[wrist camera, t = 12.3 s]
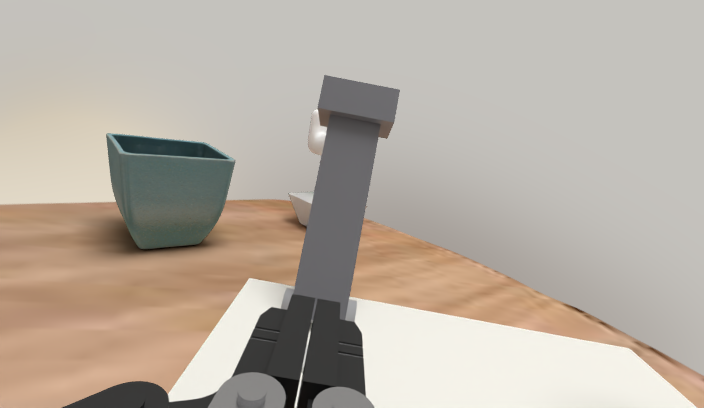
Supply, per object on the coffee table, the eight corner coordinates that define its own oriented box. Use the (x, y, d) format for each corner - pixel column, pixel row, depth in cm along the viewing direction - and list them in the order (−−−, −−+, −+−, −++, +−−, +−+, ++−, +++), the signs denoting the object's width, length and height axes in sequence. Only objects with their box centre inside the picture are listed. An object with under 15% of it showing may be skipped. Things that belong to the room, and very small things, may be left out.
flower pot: (228, 252, 33) (238, 159, 31) (117, 264, 27) (120, 151, 25) (199, 220, 39) (205, 141, 37) (104, 225, 34) (105, 132, 31)
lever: (272, 321, 18) (324, 75, 20) (281, 312, 21) (326, 96, 23) (356, 336, 18) (399, 89, 20) (354, 325, 21) (392, 109, 23)
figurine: (328, 244, 40) (353, 110, 36) (278, 217, 45) (295, 99, 42) (368, 235, 45) (393, 118, 41) (319, 212, 51) (336, 108, 47)
